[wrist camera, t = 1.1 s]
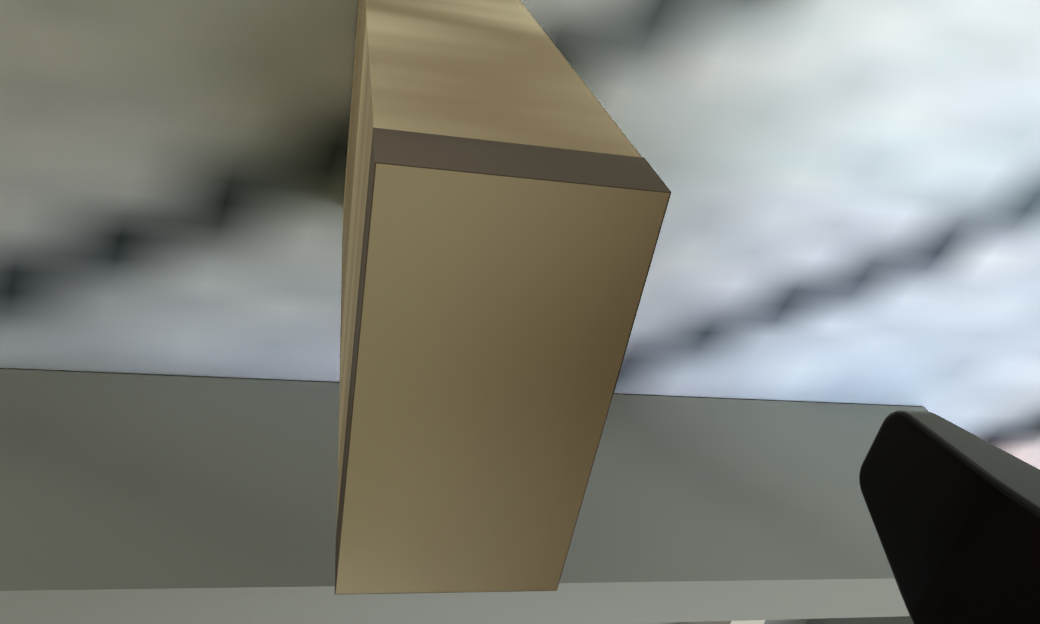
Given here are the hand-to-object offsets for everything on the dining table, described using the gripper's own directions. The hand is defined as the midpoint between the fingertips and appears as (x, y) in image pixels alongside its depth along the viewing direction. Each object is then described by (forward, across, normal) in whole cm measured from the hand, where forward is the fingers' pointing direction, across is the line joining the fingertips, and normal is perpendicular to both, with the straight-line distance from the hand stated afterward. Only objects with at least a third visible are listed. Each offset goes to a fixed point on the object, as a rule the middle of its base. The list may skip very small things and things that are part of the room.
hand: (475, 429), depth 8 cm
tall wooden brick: (+10, 0, 0) cm, 10 cm away
